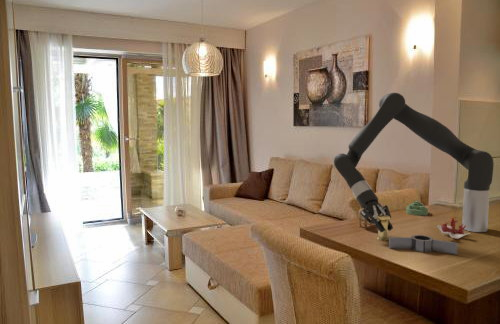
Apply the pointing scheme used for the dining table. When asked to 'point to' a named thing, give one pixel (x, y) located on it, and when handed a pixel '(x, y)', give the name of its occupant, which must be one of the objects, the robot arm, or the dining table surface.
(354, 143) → the robot arm
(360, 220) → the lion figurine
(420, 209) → the decorative artifact
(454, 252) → the hinge
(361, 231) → the dining table surface
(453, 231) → the figurine
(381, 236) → the hinge pin
